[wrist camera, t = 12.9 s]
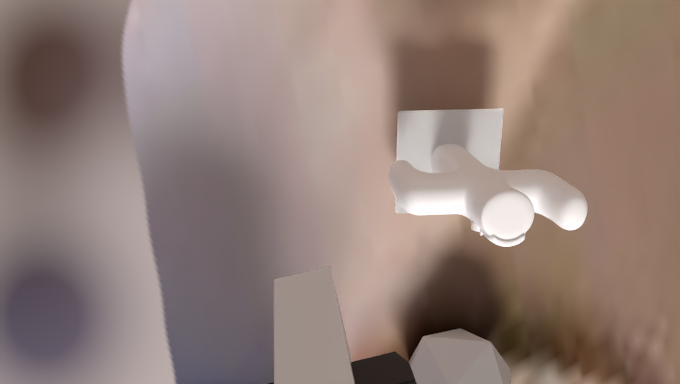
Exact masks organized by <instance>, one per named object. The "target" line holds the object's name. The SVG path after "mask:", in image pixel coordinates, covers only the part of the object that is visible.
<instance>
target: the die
mask: <svg viewBox="0 0 680 384" xmlns="http://www.w3.org/2000/svg"><path fill="white" fill-rule="evenodd" d="M409 364H410V366H411V369H412V372H413V375H414V377H415V380H416V383H417V384H511V370H510V368H509V367H508V365H507V364H506V363H505V361H504V360H503V359H502V357H501V356H500V354H499V353H498V352H497V350H496V349H495V347H494V346H493V345H492V343H491V342H490V341H487V340H485V339H483V338H481V337H478V336H476V335H474V334H472V333H470V332H467V331H465V330H463V329H461V328H459V329H455V330H450V331H446V332H441V333H436V334H432V335H427V336H423V337H422V339H421V341H420V342H419V344H418V346H417V348H416V350H415V351H414V353H413V355H412V357H411V359H410V360H409Z"/></svg>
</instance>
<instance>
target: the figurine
mask: <svg viewBox="0 0 680 384" xmlns="http://www.w3.org/2000/svg"><path fill="white" fill-rule="evenodd" d="M503 110H504V108H502V109H460V110H418V111H398V120H397V158H396V162H394V164H393V165H392V166H391V169H390V172H389V184H390V187H391V190H392V191H393V193H394V195H395V214H396V213H411V214H414V215H440V214H461V215H464V216H466V217H468V218H469V219H471V221H472V226H471V229H472V230H474V231H477V232H480V235H485V236H486V238H487V239H488V240H490V241H491V242H493V243H494V244H497V245H499V246H503V247H509V246H514V245H517V244H519V243H521V242H522V241H523V240H524V239H525V232H526V231H527V230H528V229H529V228H530V226H531V224H532V222H533V219H534V212H535V213H538V214H541V215H543V216H545V217H547V218H549V219H551V220H552V221H554V222H555V223H556V224H557V225H559V226H560V227H561V228H563V229H566V230H575V229H577V228H579V227H580V226H581V225H582V224H583V222H584V220H585V218H586V215H587V202H586V199H585V196H584V195H583V194H582V192H580V191H579V190H578V189H576V188H575V187H573V186H572V185H570V184H569V183H567V182H566V181H564V180H563V179H561V178H560V177H558V176H556V175H555V174H553V173H550V172H548V171H544V170H509V171H505V170H499V159H500V147H501V134H502V122H503Z"/></svg>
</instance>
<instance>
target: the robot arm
mask: <svg viewBox="0 0 680 384" xmlns="http://www.w3.org/2000/svg"><path fill="white" fill-rule="evenodd" d="M269 384H417V383H416V380H415V377H414V375H413V372H412V369H411V366H410V364H409V363H408V362H407V361H406V360H405V359H403V358H402V357H401V356H400V355H398V354H397V353H396V352H392V353H388V354H383V355H379V356H375V357H371V358H367V359H362V360H358V361H354V362H352V359H351V355H350V350H349V346H348V342H347V337H346V333H345V329H344V325H343V320H342V316H341V312H340V307H339V303H338V299H337V294H336V290H335V286H334V282H333V277H332V273H331V269H330V266H328V267H324V268H320V269H316V270H311V271H307V272H303V273H298V274H294V275H290V276H286V277H281V278H277V279H274V382H273V383H269Z"/></svg>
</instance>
